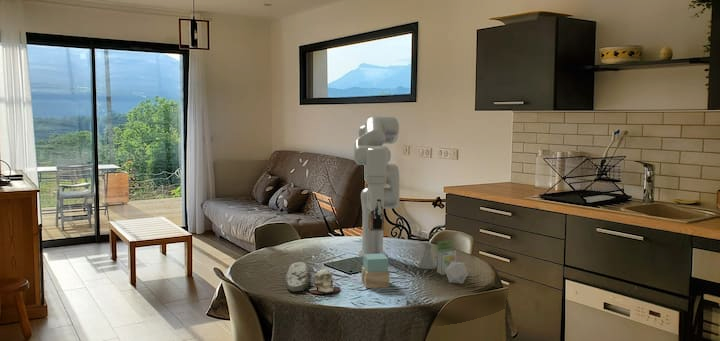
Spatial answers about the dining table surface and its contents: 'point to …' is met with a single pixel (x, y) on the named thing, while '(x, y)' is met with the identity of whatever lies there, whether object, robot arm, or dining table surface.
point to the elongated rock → (298, 276)
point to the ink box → (445, 256)
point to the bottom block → (375, 279)
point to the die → (456, 272)
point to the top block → (375, 262)
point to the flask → (427, 258)
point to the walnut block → (370, 222)
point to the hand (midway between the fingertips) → (375, 226)
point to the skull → (324, 283)
